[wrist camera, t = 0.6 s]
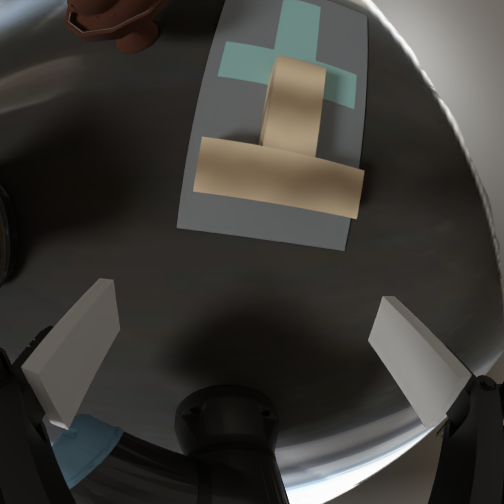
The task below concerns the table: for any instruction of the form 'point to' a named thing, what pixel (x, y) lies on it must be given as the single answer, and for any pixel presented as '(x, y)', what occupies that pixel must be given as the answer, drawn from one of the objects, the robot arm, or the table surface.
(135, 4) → the ice cream bowl
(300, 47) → the push board
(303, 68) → the t block
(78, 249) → the table surface
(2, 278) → the beer stein
